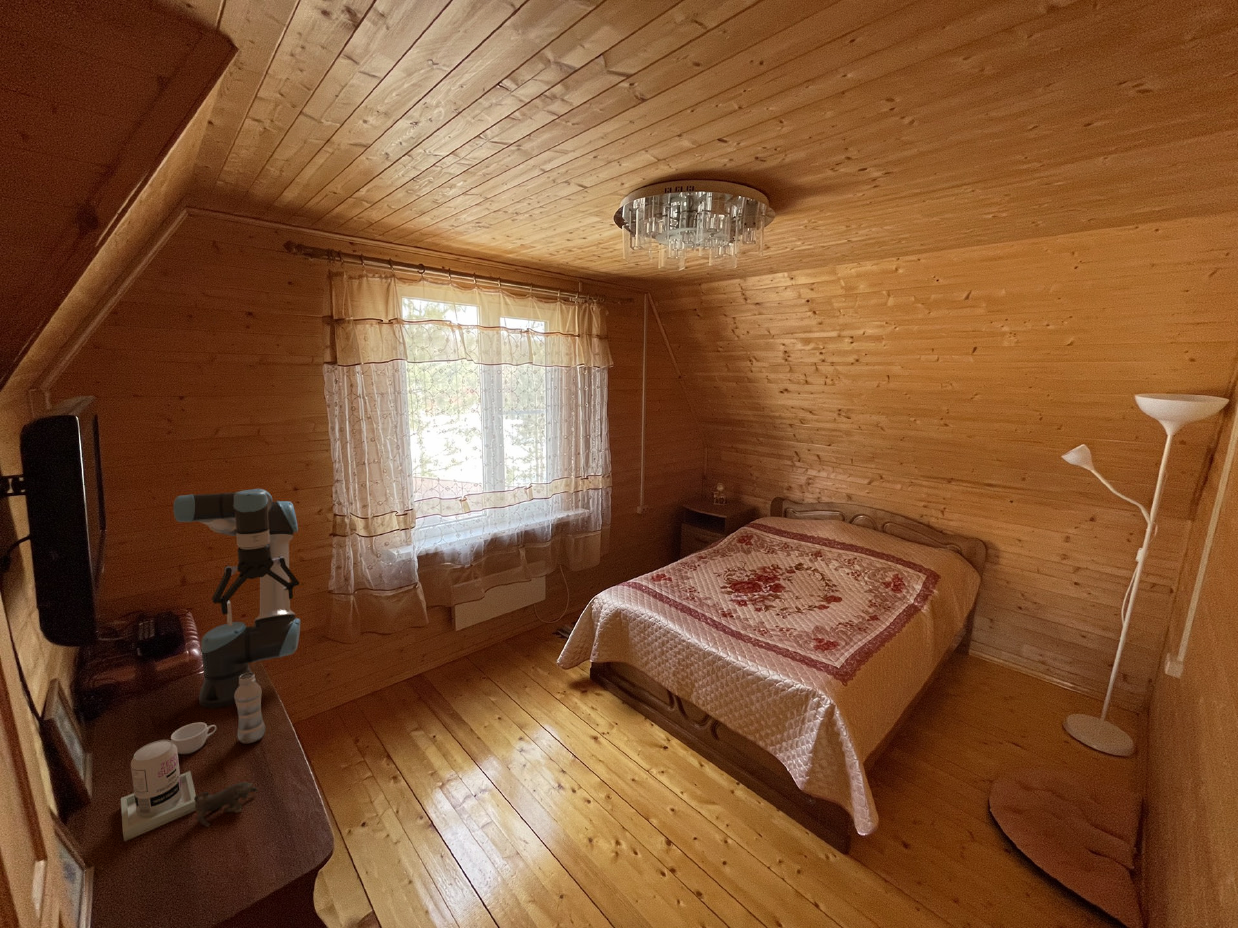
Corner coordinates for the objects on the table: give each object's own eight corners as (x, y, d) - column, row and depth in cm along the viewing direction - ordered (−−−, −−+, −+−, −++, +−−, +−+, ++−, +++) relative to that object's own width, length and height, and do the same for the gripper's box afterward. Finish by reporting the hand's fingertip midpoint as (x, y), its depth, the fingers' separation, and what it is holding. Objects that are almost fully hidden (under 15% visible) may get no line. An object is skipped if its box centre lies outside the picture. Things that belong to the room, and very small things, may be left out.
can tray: (121, 807, 124) (120, 798, 124) (191, 779, 133) (190, 770, 133) (124, 841, 115) (122, 832, 115) (198, 809, 124) (197, 800, 124)
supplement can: (145, 797, 126) (138, 743, 124) (187, 788, 129) (181, 734, 127) (130, 823, 119) (123, 766, 117) (175, 812, 122) (168, 756, 120)
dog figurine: (196, 831, 118) (193, 803, 117) (197, 814, 123) (194, 787, 122) (259, 807, 126) (256, 780, 124) (258, 792, 130) (255, 766, 129)
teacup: (176, 762, 139) (174, 744, 138) (169, 749, 144) (167, 732, 143) (221, 743, 147) (219, 726, 146) (213, 731, 151) (212, 715, 150)
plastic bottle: (251, 748, 145) (246, 684, 142) (232, 744, 146) (226, 680, 143) (271, 733, 151) (266, 671, 148) (252, 730, 153) (247, 668, 149)
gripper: (198, 558, 131) (205, 635, 135) (308, 540, 149) (312, 608, 152) (194, 551, 136) (201, 625, 140) (301, 534, 154) (305, 600, 157)
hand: (259, 616), depth 146 cm, fingers open, 13 cm apart
